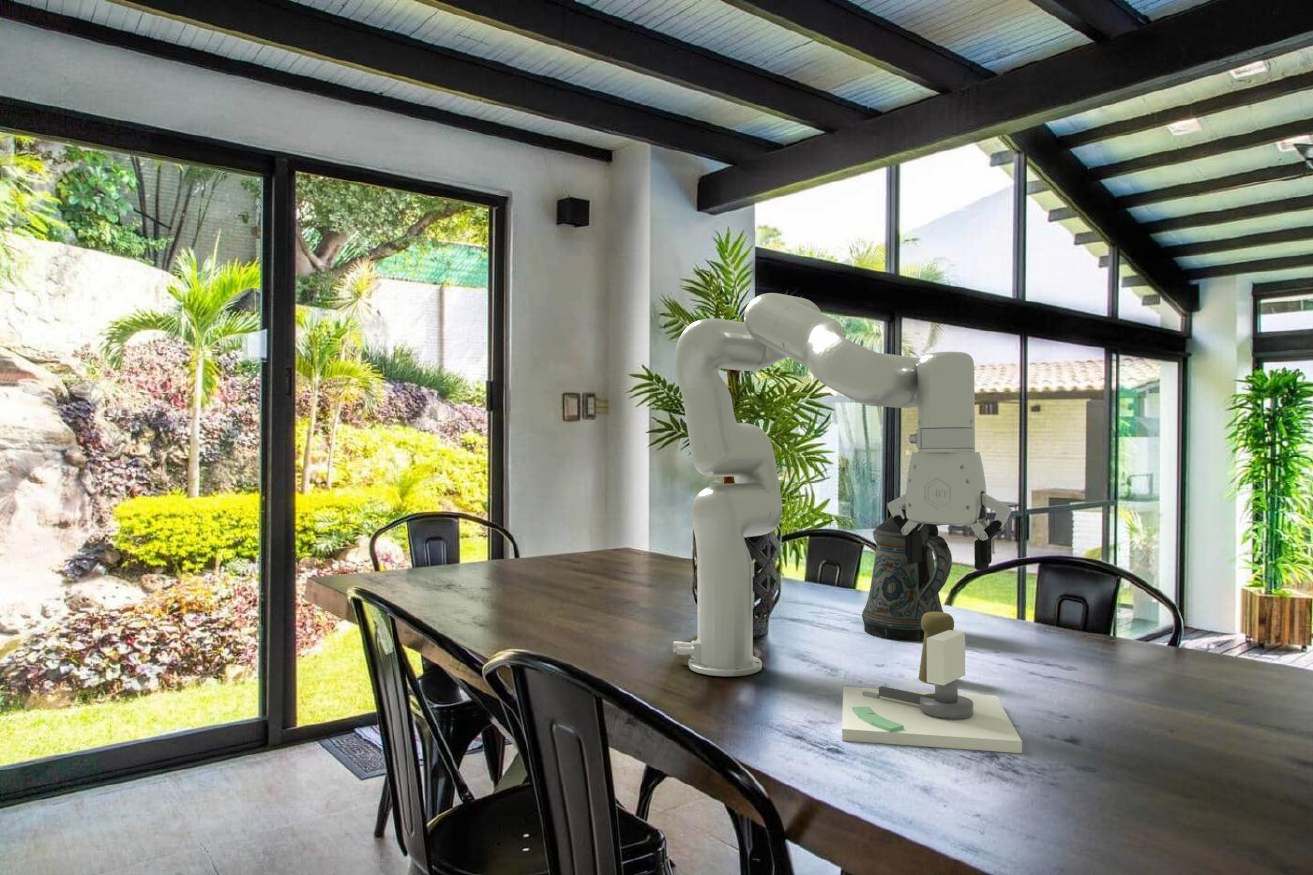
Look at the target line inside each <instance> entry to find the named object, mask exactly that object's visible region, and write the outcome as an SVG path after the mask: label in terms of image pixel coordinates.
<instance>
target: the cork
mask: <svg viewBox="0 0 1313 875" xmlns="http://www.w3.org/2000/svg"><path fill="white" fill-rule="evenodd" d="M921 626H922V629H923V631H924V632H925V633H924V641H922V642H923V643H922V649H921V658H920V666H919V672H918V680H919V681H920V682H922V683H924V684H930V685H934V684H933V683H928V682H927V638H928V637H931V636H934V635H936V634H939V633H942V632H945V631H947V630H952V631H954V628H955V620H954V617H953V616H952V615H951V614H949V613H947V612H944V611H943V612H927V613H925V614H924V615H923V616H922V619H921Z"/></svg>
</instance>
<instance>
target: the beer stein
mask: <svg viewBox="0 0 1313 875" xmlns="http://www.w3.org/2000/svg"><path fill="white" fill-rule="evenodd" d="M902 512H903V515H904V516H906V509H902ZM906 518H907V517H906ZM918 534H921V536H922V561H921V562H918V563H914V564H908V563H907V557H906V555H905V535H903V534H902V532H901V529H900V528H899V527H898V526H897V525H896V524H895V522H894V521H893V516H892V515H891V514H890V516H889V517H888V518H887V519H886V520H884V521H883V522H882V523H880V524H879V525H877V527H876V528H875V529H874V530H873V531H872V536H873V540H874V541H875V545H876V546H875V555H874V561H873V562H874V563H873V568H872V576H871V582H870V589H869V593H868V596H867V601H866V604H865V607H864V608H863V610H862V612H861V617H862V621H863V626H864V628H863V629H864V633H865V634H868V635H869V634H870V635H869V636H871V635H872V636H871V637H875V636H876V638H879V639H883V640H891V641H899V642H900V641H903V642H923V641H924V633H925V632H924V631H923V629H922V626H921V619H922V616H923V615H924V614H925V613H927V612H944V610H943V607H942V602H941V599H940V594H939V593H940V592H941V590H942V589H943V588H944V586H945V585H946V583H947V581H948V579H949V576H950V573H951V570H952V565H953V557H952V556H953V555H952V552H951V549H950V548H949V544H948V543H947V541H946V539H945V538H944V537H943V536H941V535H939V527H938V524H923V526H922V527H921V528H920V529H919V531H918Z"/></svg>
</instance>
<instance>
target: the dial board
mask: <svg viewBox="0 0 1313 875" xmlns="http://www.w3.org/2000/svg"><path fill="white" fill-rule="evenodd" d="M902 690H903V691H906V690H904V689H902ZM907 691H908V692H913V693H918V694H923V695H925V694H931V693H935V691H922V690H921V691H920V690H907ZM958 695H959V696H963V697H966V698H968V699H970V700H972V701H973V715H972V716H970V717H967V718H960V719H950V718H941V717H935V716H931V715H928V714H926V713H924V712H922V711H921V710H920V705H919V704H915V703H910V702H905V701H901V700H896V699H891V698H887V697H882V696H879V688H872V687H871V688H869V687H868V688H867V687H853V686H852V687H851V686H842V714H841V715H842V718H841V719H842V720H841V721H842V723H841V741H844V742H858V743H860V742H861V743H874V744H887V745H901V746H916V747H930V748H931V747H932V748H942V749H943V748H945V749H954V750H955V749H959V750H970V751H971V750H973V751H983V752H984V751H986V752H999V753H1012V754H1013V753H1014V754H1023V740H1022V739H1021V737H1020V735H1019V734H1018V732H1017V729H1016V728H1015V726H1014V725H1013V723H1012V721H1011V720H1010V718H1009V716H1008V714H1007V713H1006V710H1005V709H1004V708H1003V706H1002V704H1001V702H1000V700H999V698H998V697H997V695H988V694H987V695H986V694H974V693H973V694H971V693H958Z"/></svg>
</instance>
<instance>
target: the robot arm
mask: <svg viewBox="0 0 1313 875" xmlns="http://www.w3.org/2000/svg"><path fill="white" fill-rule="evenodd" d="M743 314H744V315H743V322H742V321H737V320H730V319H723V318H702V319H698V320H696V321H693V322H692V323H690V324H689V325H688V326H687V327H685V329H684V330H683V331H682V333H681V335H680V336H679V338H678V341H677V343H676V346H675V349H674V350H675V351H674V369H675V370H674V371H675V374H676V375H675V376H676V379H677V383H678V385H679V387H678V388H679V390H680V394H681V397H682V401H683V408H684V414H685V415H684V416H685V417H684V418H685V421H686V422H685V423H686V430H687V436H688V442H689V449H690V455H691V459H692V464H693V466H694V468H695V469H696V471H697V472H699V473H700V474H701V475H703V476H707V477H710V478H711V477H715V478H722V477H733V479H734V480H733V481H734V483H719V484H718V483H717V484H714V485H710V486H707V487H705V488H704V489H702V490H700V491H699V492H698V494H697V495H696V496H695V497H694V498H693V502H692V504H691V505H692V506H691V510H690V511H691V513H690V514H691V516H690V517H691V523H692V528H693V532H694V538H695V547H696V568H697V570H696V571H697V572H696V577H697V584H696V586H697V590H696V591H697V604H696V605H697V637H696V638H695V640H694V639H693V640H691V642H690V641H689V642H688V641H687V642H686V641H677V640H674V641H673V642H672V643H673V644H672V652H673V653H677V655H682V656H685V655H688V656H690V658H689V659H688V669H690V670H691V671H693V672H695V673H698V674H702V675H706V676H714V677H741V676H748V675H753V674H756V673H758V672H760V671H761V670H762V668H763V662H762V660H761V659H760V658H758V657H756V656H754V653H753V651H754V650H753V648H754V641H753V638H754V637H753V634H754V633H753V632H754V631H753V630H754V628H753V627H754V625H753V624H754V618H753V617H754V616H753V611H754V610H753V606H754V605H753V603H754V602H753V598H754V597H753V596H754V595H753V594H754V593H753V592H754V591H753V589H754V588H753V587H754V586H753V584H754V583H753V582H754V581H753V580H754V578H753V570H754V569H753V560H752V557H751V554H750V550H749V549H748V546H747V543H746V540H745V538H751V537H759V536H765V535H768V534H770V533H772V532H773V531H774V530H776V528H777V527H778V525H779V524H780V522H781V519H782V516H783V500H782V499H783V498H782V493H781V488H780V479H779V475H778V468H777V462H776V456H775V451H774V448H773V444H772V441H771V439H770V438H769V436H768V435H767V433H766V432H765V431H764V430H763V429H762V428H761V427H760V426H758V425H755V424H752V423H747V422H746V423H745V422H737V419H736V416H735V412H734V405H733V399H732V394H731V392H730V390H729V387H728V386H727V383H725V381H724V380H723V378H722V377H721V375H720V373H719V371H720V369H724V370H734V371H743V372H744V371H745V372H752V371H754V372H755V371H760V370H763V369H765V368H767V367H770V366H772V365H774V364H777V363H778V362H780V361H783V360H785V359H788V358H789V359H791V360H793V361H794V362H797V363H798V364H800V365H802V366H803V367H805V368H807V369H809V372H810V373H811V374H812V375H813V376H814V377H815V379H816V380H818V381H819V382H820V383H822V384H823V385H824V386H826V387H828V388H830V389H831V390H832V391H835V392H837V393H839V394H841V395H842V396H845V397H846V398H849V399H850V400H852V401H853V402H854V401H855V402H856V403H859V404H862V405H864V406H870V407H879V408H880V407H883V408H884V407H887V408H894V409H895V408H899V409H900V408H901V409H909V408H917V429H916V432H915V433H913V434H912V433H911V434H910V435H909V437H908V439H909V443H910V444H914V445H916V448H917V451H916V452H914V451H912V452H911V456H910V460H909V466H908V471H907V480H906V490H905V491H906V492H905V493H904V494H903V495H901V496H899V497H897V498H895V499H894V500H892V501H889V502H888V503H887V505H886V506H887V509H888V511H889V512H890V516H891V515H892V516H893V521H894V522H895V524H896V525H897V526H898V527H899V528H900V529H901V532H902V534H903V535H905V555H906V557H907V563H908V564H914V563H918V562H921V561H922V536H921V534H918V531H919V529H920V528H921V527H922V526H923V524H936V525H944V526H963V527H964V526H969V527H970V529H971V530H972V531H973V533H974V534H975V535H976V537H977V539H975V540H974V542H973V543H974V549H973V550H974V569H975V570H976V571H983V570H988V569H989V567H990V564H991V563H992V559H993V556H992V555H993V554H992V552H993V549H992V547H993V546H992V540H993V539H994V538H995V537H996V535H998V534H999V532H1000V531H1001V530H1003V529H1004V528H1005V526H1006V523H1007V521H1008V519H1009V517H1010V516H1011V513H1012V510H1013V509H1012V507H1010V506H1008V505H1006V504H1005V503H1003V502H1002V501H1000V500H998V499H996V498H994V497H992V496H990V495H989V494H987V487H986V486H987V485H986V476H985V472H984V471H985V470H984V464H983V461H982V456H981V453H980V451H976V424H975V423H976V422H975V420H976V419H975V418H976V417H975V416H976V410H975V408H976V407H975V406H976V404H975V403H976V402H975V397H976V396H975V391H976V390H975V363H974V362H975V361H974V359H973V357H972V356H971V355H970V354H969V353H966V352H963V351H937V352H930V353H929V352H928V353H926V354H924V355H921V357H915V356H913V357H912V356H905V355H898V354H890V353H881V352H877V351H875V350H872V349H869V348H867V347H865V346H862V345H860V344H858V343H856V342H854V341H852V340H850V339H848V338H846V337H845V334H844V332H845V331H844V329H843V326H842V323H840V322H839V321H838V320H837V319H835V318H832V317H830V316H828V315H826V314H824V313H822V311H821V309H820V308H819V306H817V305H816V304H815V303H814V302H812V301H811V300H810V299H807V298H804V297H799V296H793V295H790V294H789V295H788V294H783V293H777V292H768V293H761V294H760V295H757V296H755V297H754V298H753V299H751V300H750V302H748V304H747V306H746V308H745V310H744V313H743ZM903 507H905V510H906V516H904V515H903V512H902V510H903ZM988 509H990V510H992V511H993V512H994V513H995V516H994V519H993V521H991V522H990V523H988V522H987V521H986V519H987V516H988ZM906 517H907V518H906Z"/></svg>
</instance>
